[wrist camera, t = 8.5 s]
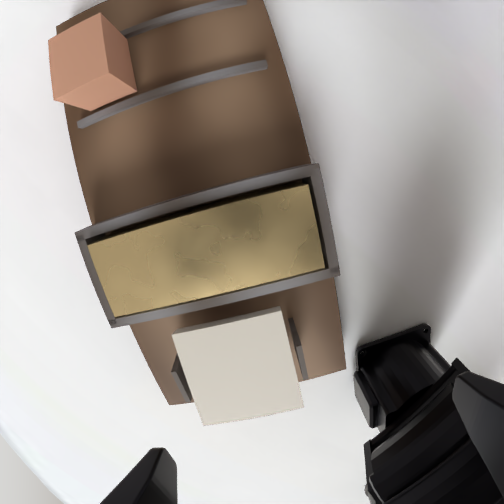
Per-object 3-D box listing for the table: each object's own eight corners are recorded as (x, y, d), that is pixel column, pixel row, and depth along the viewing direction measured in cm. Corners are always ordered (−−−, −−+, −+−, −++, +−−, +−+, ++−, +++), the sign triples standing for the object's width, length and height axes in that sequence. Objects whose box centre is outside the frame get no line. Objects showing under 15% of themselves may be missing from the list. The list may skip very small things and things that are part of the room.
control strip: (246, -25, 14) (248, -70, 9) (338, 353, 22) (360, 397, 17) (69, 35, 15) (31, 10, 10) (173, 388, 22) (161, 435, 17)
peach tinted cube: (127, 39, 13) (100, 12, 9) (137, 91, 14) (108, 72, 10) (82, 59, 13) (48, 40, 10) (90, 111, 14) (53, 100, 11)
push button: (298, 181, 16) (308, 184, 13) (313, 253, 17) (325, 267, 15) (106, 234, 16) (87, 245, 14) (129, 298, 17) (114, 316, 15)
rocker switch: (279, 305, 17) (281, 310, 16) (301, 397, 17) (304, 407, 16) (177, 329, 17) (171, 334, 16) (206, 415, 17) (203, 425, 16)
